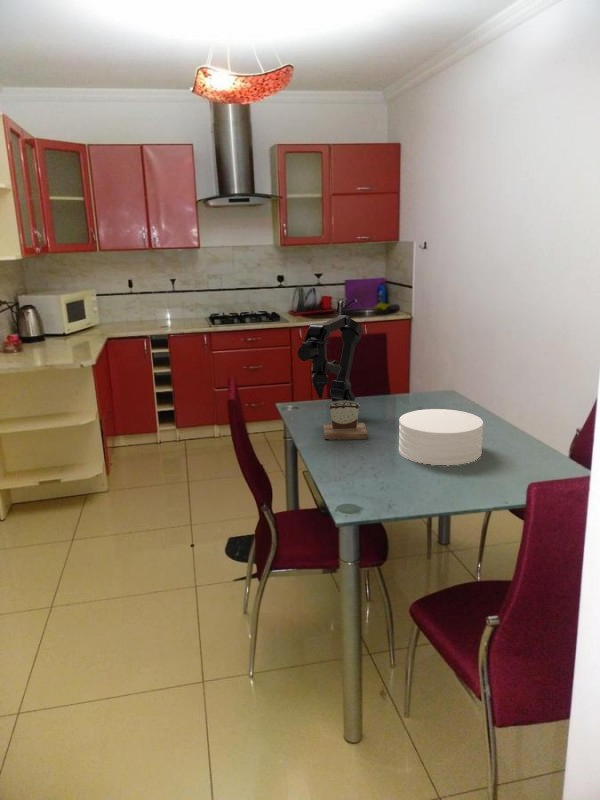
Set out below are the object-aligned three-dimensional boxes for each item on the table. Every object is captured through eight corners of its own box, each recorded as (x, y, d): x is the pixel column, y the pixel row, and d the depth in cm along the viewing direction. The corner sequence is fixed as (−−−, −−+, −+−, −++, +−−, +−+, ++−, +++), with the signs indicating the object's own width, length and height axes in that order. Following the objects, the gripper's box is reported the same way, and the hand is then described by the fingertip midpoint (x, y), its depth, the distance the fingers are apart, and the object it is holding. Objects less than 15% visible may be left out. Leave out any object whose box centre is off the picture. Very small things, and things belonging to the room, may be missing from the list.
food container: (359, 424, 232) (359, 399, 230) (360, 429, 226) (360, 403, 224) (327, 425, 232) (327, 400, 230) (328, 430, 226) (328, 404, 224)
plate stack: (480, 441, 215) (482, 410, 212) (482, 469, 189) (484, 435, 186) (403, 436, 223) (403, 407, 220) (394, 463, 197) (394, 430, 194)
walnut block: (323, 428, 235) (323, 423, 234) (363, 427, 235) (363, 422, 234) (324, 440, 221) (324, 434, 221) (367, 438, 221) (367, 433, 221)
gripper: (341, 360, 221) (341, 400, 225) (338, 351, 239) (339, 388, 243) (311, 361, 221) (312, 401, 226) (310, 352, 239) (311, 389, 244)
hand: (320, 395), depth 234 cm, fingers open, 9 cm apart
